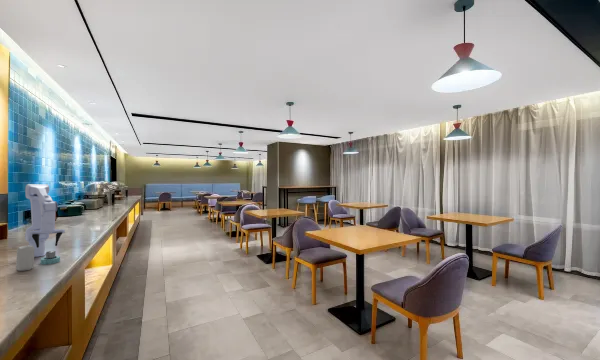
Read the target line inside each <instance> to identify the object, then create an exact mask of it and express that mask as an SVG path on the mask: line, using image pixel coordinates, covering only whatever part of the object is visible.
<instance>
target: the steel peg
mask: <svg viewBox="0 0 600 360" xmlns="http://www.w3.org/2000/svg"><path fill="white" fill-rule="evenodd" d="M45 252H46V254H45V257H46V259H54V258H55V256H56V250H49V251H45Z"/></svg>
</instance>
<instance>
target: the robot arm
mask: <svg viewBox="0 0 600 360" xmlns="http://www.w3.org/2000/svg"><path fill="white" fill-rule="evenodd" d="M49 193H50V185H49V184H47V183H46V184H43V183H42V184H40V183H39V184H37V183H36V184H35V183H31V184H30V183H28V184H26V185H25V198H26V199H28V200H29V202H30V213H31V214H30V216H31V225H30V226H29V227H27V228H26V229H25V234H24V239H25V241H26V242H28V246H33V247H34V258H36V257H37V258H38V257H46V252H47V251H46V241H47V240H48V239H49V237H50V234H55V243H54V245H55V247H57V246H58V243H59V241H60V238H61V236H62V235H63V234H65V233H66V229H64V228H63V229H62V228H61V229H59V228H58V229H57V228H56V227H55V226H56V212H57V211H58V202H57V201H55V200H53V198H52V197H51V195H49Z"/></svg>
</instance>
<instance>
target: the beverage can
mask: <svg viewBox="0 0 600 360" xmlns="http://www.w3.org/2000/svg"><path fill="white" fill-rule="evenodd" d="M34 260H35V257H34V247H33V246H29V245H22V246H19V247H17V249H16V263H15V264H16V265H15V270H16V271H18V272H24V271H29V270H32V269H33V268H34V266H35V261H34Z"/></svg>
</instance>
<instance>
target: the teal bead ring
mask: <svg viewBox="0 0 600 360" xmlns="http://www.w3.org/2000/svg"><path fill="white" fill-rule="evenodd" d="M60 261H61V256H60V255H55V258H54V259H46V256H43V257H41V258H40V265H53V264H57V263H60Z"/></svg>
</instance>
